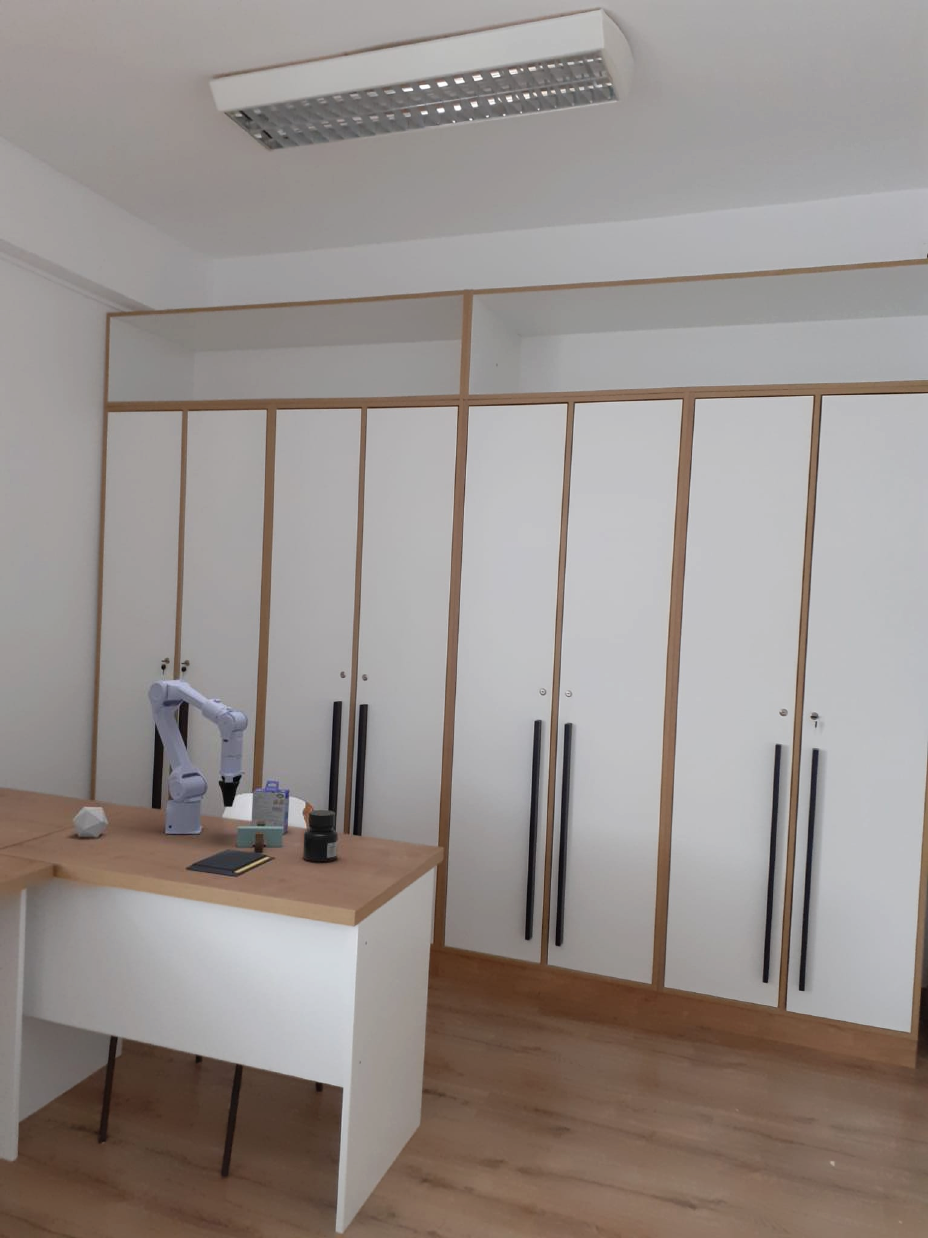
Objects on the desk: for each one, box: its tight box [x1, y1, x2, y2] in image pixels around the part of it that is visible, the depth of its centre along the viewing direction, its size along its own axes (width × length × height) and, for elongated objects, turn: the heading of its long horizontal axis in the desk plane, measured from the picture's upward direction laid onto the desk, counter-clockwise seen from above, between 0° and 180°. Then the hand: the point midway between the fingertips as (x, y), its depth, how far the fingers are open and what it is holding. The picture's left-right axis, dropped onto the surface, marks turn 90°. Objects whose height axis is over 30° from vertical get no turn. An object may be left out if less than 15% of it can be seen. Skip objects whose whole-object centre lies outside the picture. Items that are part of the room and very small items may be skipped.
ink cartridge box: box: [250, 780, 290, 835], centre depth 273 cm, size 10×6×14 cm, turn 89°
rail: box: [254, 821, 265, 854], centre depth 256 cm, size 15×2×5 cm, turn 10°
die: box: [72, 806, 109, 839], centre depth 258 cm, size 8×9×10 cm
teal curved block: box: [236, 825, 284, 848], centre depth 256 cm, size 12×2×5 cm, turn 100°
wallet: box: [185, 848, 276, 878], centre depth 238 cm, size 20×2×15 cm
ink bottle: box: [302, 809, 339, 863], centre depth 246 cm, size 10×9×12 cm
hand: (229, 803), depth 262 cm, fingers open, 7 cm apart
